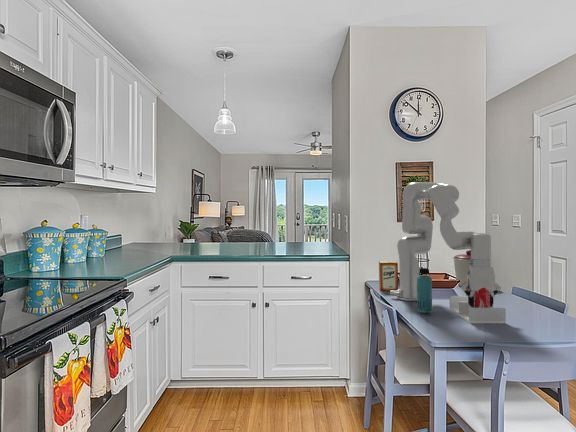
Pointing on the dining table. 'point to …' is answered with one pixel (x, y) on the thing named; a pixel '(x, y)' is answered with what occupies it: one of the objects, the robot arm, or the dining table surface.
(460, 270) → the canister
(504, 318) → the white holder
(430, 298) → the beverage bottle
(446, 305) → the dining table surface
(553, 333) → the dining table surface
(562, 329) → the dining table surface
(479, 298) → the soda can
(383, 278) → the baking soda box
